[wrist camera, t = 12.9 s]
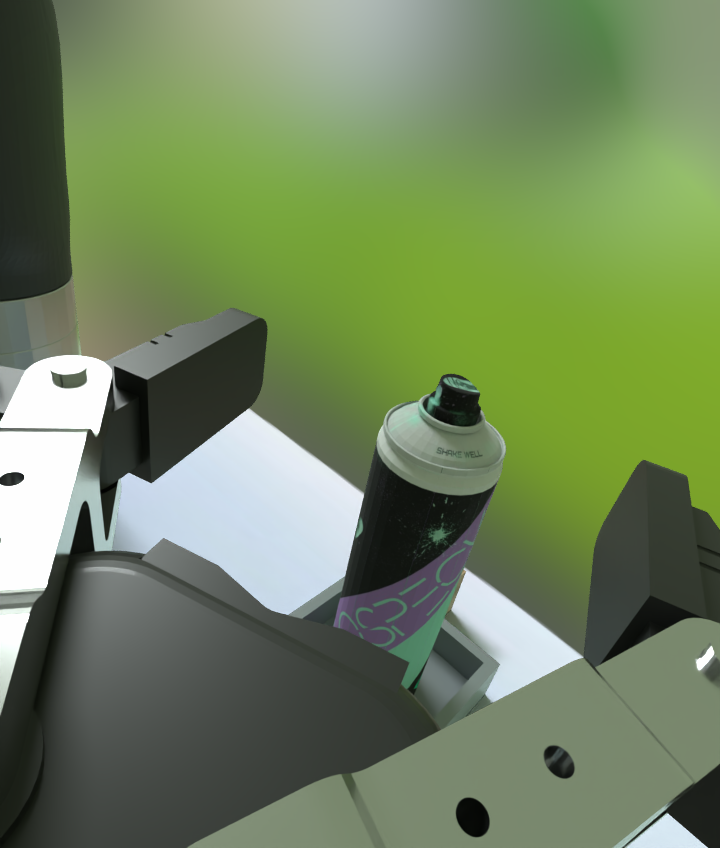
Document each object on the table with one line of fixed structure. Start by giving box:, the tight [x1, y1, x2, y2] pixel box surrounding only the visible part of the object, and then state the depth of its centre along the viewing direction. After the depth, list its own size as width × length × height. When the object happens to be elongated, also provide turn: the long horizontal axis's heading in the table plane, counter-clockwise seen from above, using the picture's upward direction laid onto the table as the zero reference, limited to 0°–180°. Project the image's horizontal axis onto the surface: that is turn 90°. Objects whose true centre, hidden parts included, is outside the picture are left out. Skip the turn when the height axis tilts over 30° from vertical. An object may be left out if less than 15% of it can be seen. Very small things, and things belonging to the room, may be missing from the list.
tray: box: [289, 577, 500, 730], centre depth 32 cm, size 10×10×3 cm
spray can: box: [333, 374, 506, 695], centre depth 27 cm, size 6×6×20 cm
